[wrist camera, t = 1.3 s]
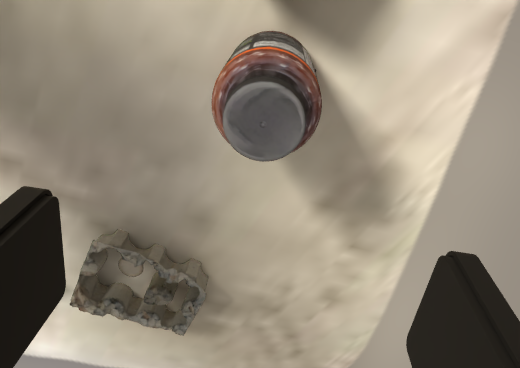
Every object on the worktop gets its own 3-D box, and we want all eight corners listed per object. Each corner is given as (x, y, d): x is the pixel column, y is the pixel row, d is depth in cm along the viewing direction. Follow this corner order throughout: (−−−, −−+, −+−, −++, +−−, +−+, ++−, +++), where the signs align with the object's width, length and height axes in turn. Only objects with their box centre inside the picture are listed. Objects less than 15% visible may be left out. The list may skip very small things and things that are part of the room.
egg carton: (82, 274, 40) (61, 305, 36) (108, 214, 37) (88, 241, 33) (186, 320, 42) (176, 354, 38) (219, 266, 39) (212, 297, 35)
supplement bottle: (287, 128, 32) (286, 201, 22) (215, 90, 31) (180, 148, 21) (330, 55, 30) (351, 101, 20) (253, 11, 29) (233, 35, 19)
